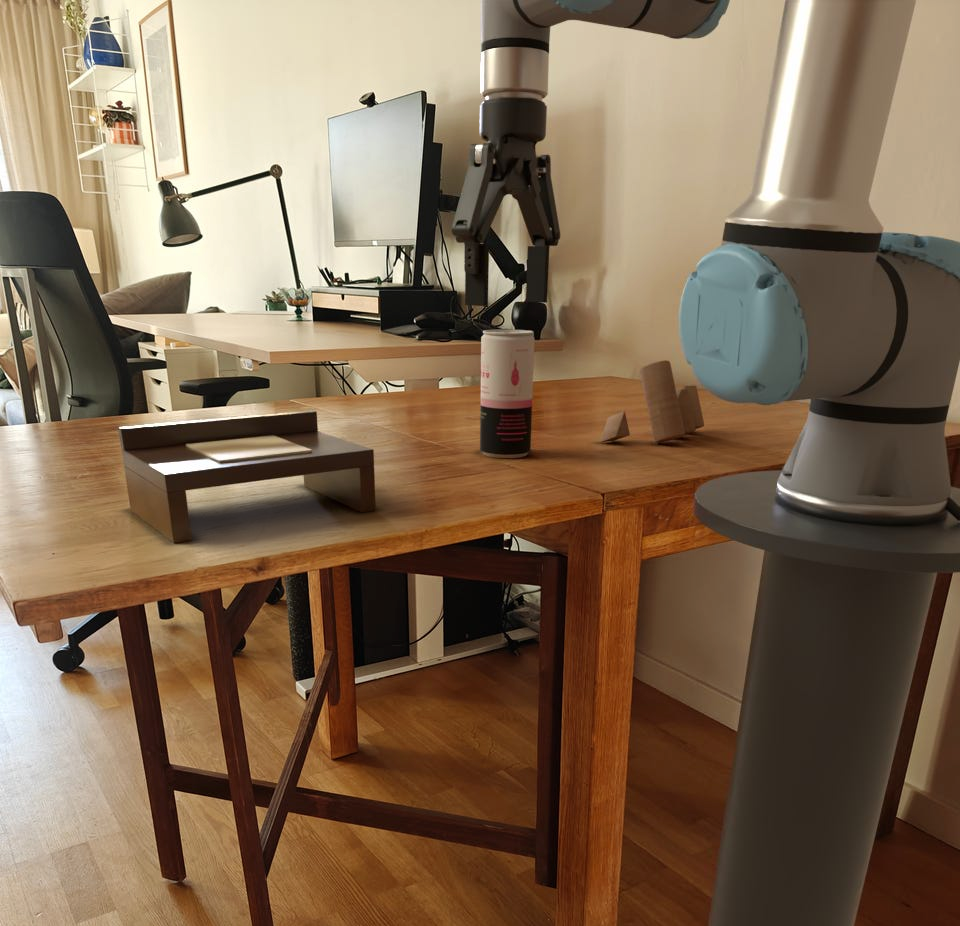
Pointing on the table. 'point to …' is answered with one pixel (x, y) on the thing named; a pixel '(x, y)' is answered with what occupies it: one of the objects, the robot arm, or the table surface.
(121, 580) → the table surface
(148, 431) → the shelf
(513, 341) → the beverage can
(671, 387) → the wooden block set
